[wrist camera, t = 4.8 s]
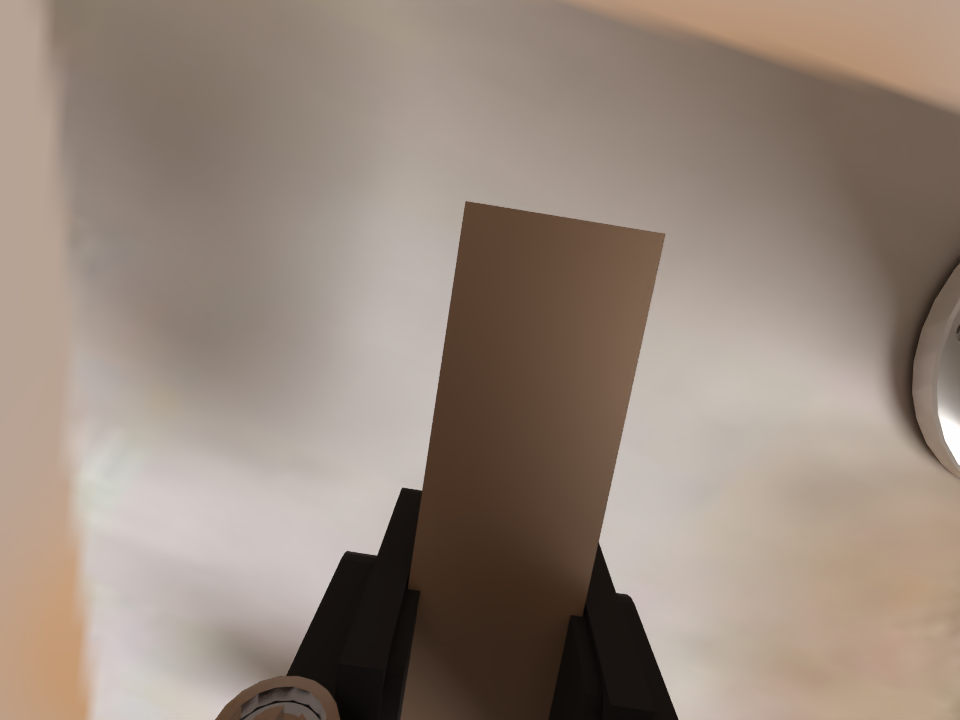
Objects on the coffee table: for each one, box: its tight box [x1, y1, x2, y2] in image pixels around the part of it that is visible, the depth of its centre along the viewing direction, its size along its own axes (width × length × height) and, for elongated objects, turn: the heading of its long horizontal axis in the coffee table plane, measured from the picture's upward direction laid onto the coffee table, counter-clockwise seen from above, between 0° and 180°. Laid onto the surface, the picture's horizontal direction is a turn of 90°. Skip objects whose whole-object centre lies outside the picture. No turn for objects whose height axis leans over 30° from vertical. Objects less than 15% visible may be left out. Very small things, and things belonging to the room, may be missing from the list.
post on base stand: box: [400, 201, 665, 720], centre depth 8 cm, size 7×13×5 cm, turn 171°
